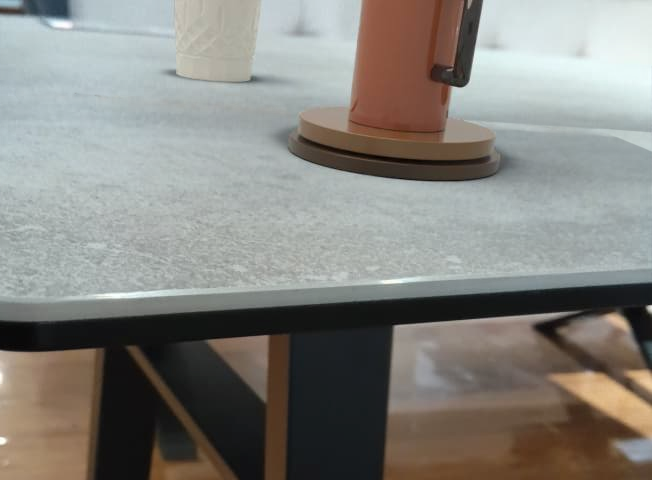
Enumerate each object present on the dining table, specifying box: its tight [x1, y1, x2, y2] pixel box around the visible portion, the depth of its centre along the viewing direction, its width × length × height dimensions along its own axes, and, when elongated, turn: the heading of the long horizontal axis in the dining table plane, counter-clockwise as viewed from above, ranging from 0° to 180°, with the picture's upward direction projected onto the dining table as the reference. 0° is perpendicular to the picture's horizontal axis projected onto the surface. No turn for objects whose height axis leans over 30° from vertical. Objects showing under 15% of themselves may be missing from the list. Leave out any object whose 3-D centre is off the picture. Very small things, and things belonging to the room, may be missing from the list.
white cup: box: [173, 0, 262, 83], centre depth 78 cm, size 8×8×10 cm
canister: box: [297, 0, 497, 161], centre depth 52 cm, size 12×12×13 cm
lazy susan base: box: [287, 127, 501, 181], centre depth 55 cm, size 13×13×1 cm
